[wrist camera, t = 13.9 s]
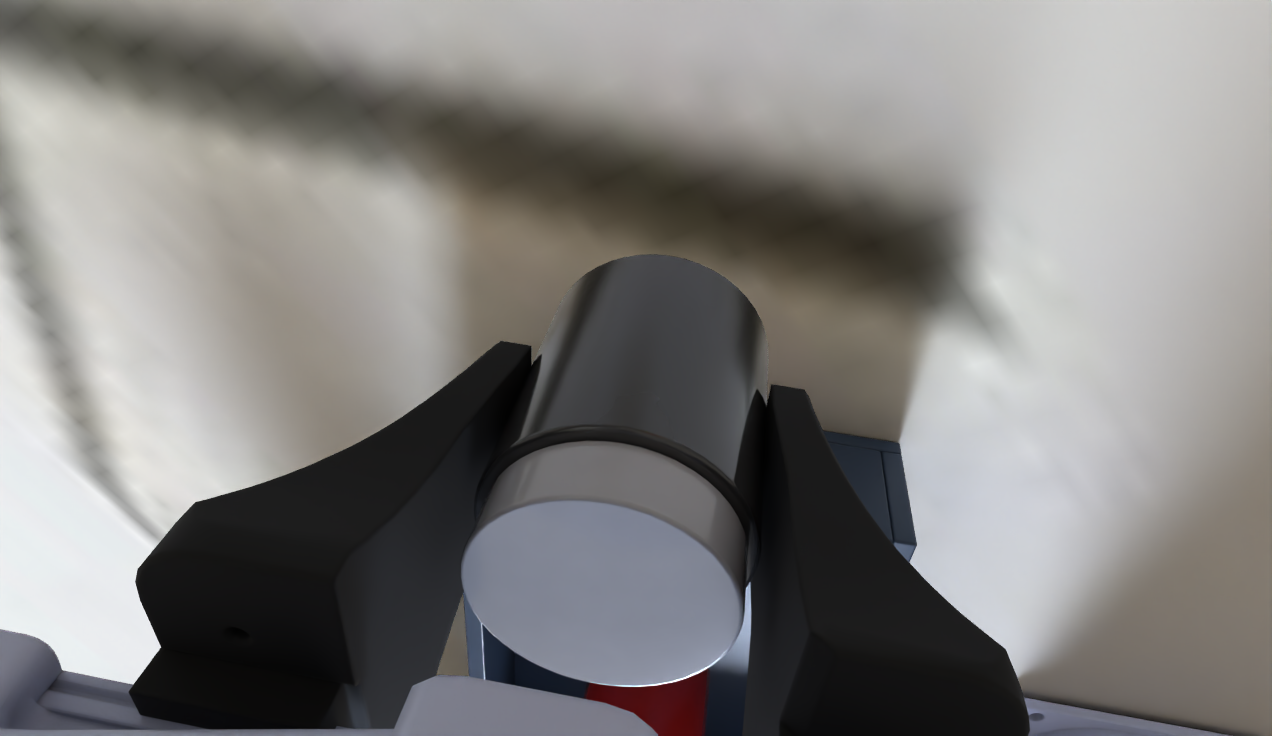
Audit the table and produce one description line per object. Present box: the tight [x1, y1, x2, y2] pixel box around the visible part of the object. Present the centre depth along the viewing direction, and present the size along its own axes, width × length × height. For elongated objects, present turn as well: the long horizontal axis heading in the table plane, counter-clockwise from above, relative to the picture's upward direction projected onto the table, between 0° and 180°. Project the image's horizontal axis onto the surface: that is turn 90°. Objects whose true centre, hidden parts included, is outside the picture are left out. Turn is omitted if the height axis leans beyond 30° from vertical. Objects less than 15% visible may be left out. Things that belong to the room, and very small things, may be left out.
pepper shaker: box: [461, 254, 768, 687], centre depth 14 cm, size 5×5×7 cm
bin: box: [463, 431, 917, 736], centre depth 27 cm, size 12×17×4 cm
